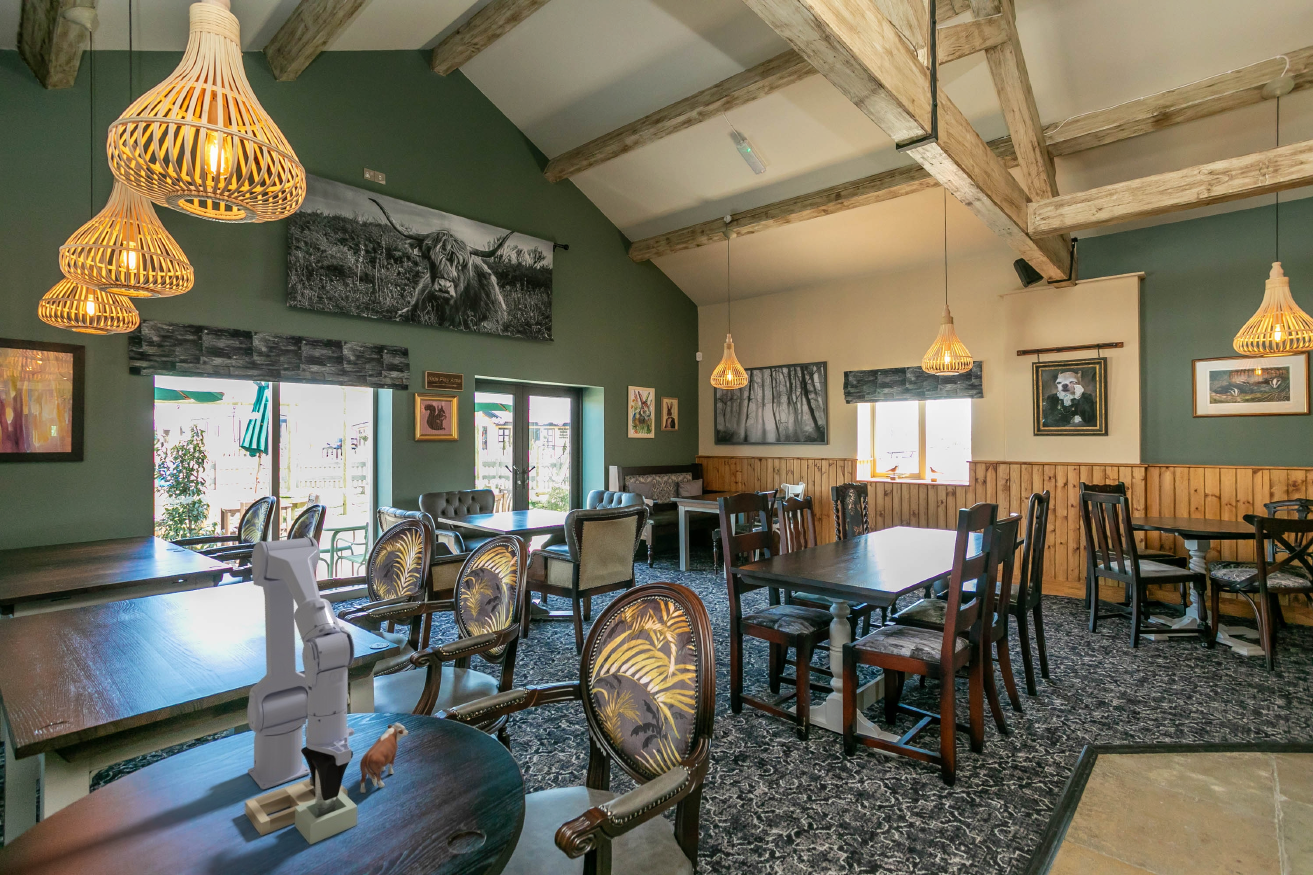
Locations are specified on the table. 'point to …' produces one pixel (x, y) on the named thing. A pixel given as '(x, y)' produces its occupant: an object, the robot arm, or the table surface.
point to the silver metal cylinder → (322, 801)
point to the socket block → (279, 806)
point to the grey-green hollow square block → (325, 819)
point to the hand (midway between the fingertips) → (326, 793)
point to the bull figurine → (381, 755)
